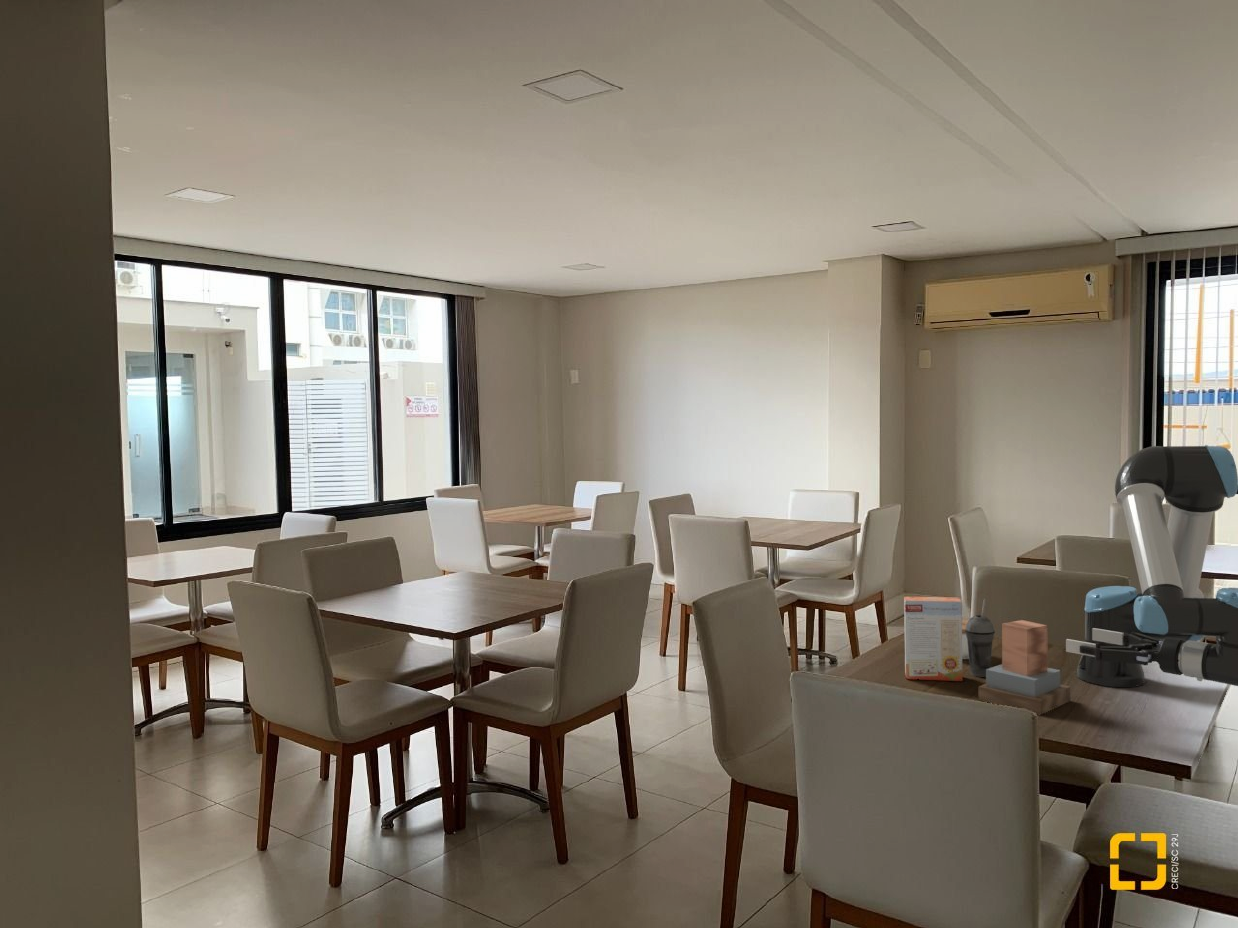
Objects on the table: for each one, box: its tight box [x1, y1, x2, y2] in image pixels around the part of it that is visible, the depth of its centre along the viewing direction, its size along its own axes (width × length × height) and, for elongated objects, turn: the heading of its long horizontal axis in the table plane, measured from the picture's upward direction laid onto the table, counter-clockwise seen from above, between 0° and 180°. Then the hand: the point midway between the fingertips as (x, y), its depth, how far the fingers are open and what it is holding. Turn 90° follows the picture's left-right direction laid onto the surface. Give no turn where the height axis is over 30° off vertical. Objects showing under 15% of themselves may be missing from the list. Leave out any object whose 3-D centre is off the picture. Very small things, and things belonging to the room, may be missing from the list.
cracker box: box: [903, 596, 964, 682], centre depth 240 cm, size 14×6×21 cm, turn 76°
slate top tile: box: [985, 663, 1062, 697], centre depth 220 cm, size 12×12×4 cm
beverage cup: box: [965, 598, 996, 678], centre depth 242 cm, size 7×7×20 cm
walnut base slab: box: [977, 683, 1071, 716], centre depth 220 cm, size 15×15×4 cm
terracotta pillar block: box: [1001, 619, 1048, 676], centre depth 220 cm, size 7×7×11 cm
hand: (1079, 639), depth 210 cm, fingers open, 13 cm apart
